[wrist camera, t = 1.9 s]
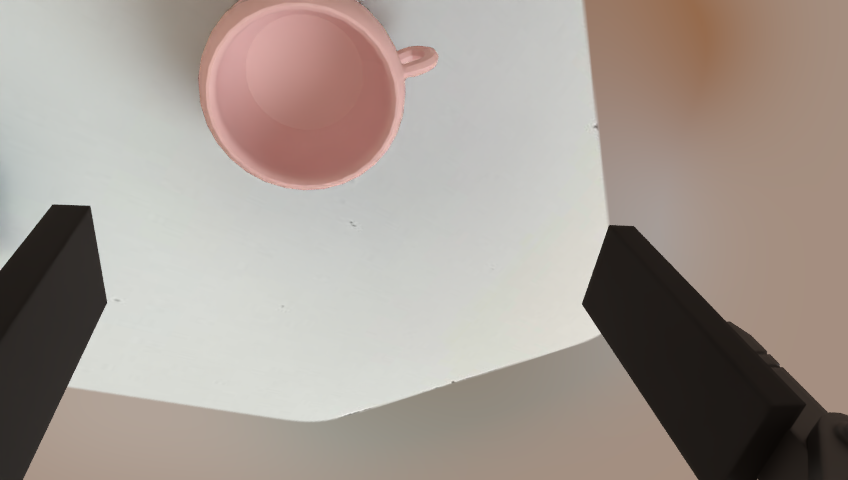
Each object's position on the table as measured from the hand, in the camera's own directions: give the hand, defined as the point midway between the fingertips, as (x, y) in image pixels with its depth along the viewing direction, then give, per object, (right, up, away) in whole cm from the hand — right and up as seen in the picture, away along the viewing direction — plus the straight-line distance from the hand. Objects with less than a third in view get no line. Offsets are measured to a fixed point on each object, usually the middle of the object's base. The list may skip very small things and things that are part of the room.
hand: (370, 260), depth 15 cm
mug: (-4, +10, +17) cm, 21 cm away
